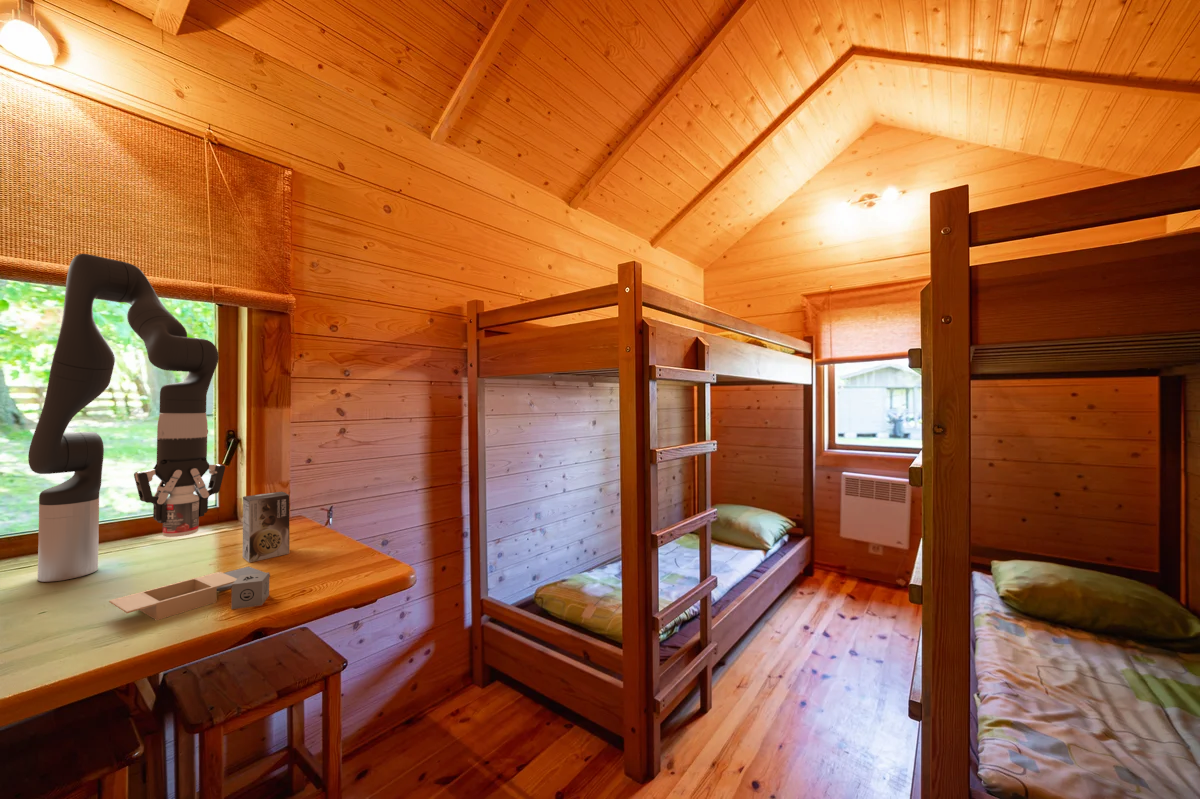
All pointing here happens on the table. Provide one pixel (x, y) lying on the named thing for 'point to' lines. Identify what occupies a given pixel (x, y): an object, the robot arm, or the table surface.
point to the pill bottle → (181, 512)
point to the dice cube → (250, 590)
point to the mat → (238, 573)
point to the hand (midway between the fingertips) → (181, 518)
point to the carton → (175, 596)
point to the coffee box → (265, 526)
